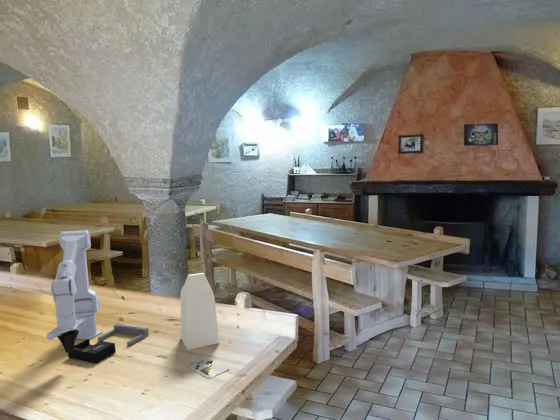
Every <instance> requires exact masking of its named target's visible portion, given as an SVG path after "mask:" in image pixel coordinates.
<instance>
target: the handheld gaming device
mask: <svg viewBox="0 0 560 420" xmlns="http://www.w3.org/2000/svg"><path fill="white" fill-rule="evenodd" d="M213 360H214V359H213V358H210V357H209V356H207V355H202V356H200V357H197V358H195V359H192V360H189V361H186V362H184V363H185V364H184V365H185V367H186V368H188V369H191V370H192V371H193V372H195V373H197V374H199V375H200V374H201V375H200V376H202V377H204V378H205V377H206V379H207V378H210V379H212V378H211V377H209V374H208V373H209V371H210V369H211V368H210V369H209V367H211V366H212V365H211V366H209V367H207V366H208V365H209V363H210V364H212V362H213ZM204 365H205V366H204ZM206 365H207V366H206ZM208 370H209V371H208ZM207 376H208V377H207Z"/></svg>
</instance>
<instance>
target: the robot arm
mask: <svg viewBox="0 0 560 420" xmlns="http://www.w3.org/2000/svg"><path fill="white" fill-rule="evenodd" d="M58 240H59V245H60V247H61V249H62V250H63V256H62V257H63V258H62V261H61V262H60V263H58V265H57V270H56V274H55V275H56V276H55V278H54V280H52V282H51V286H50V289H51V291H50V292H51V295H52V299H53V302H54V304H55V315H56V327H55V328H54V329H52V330H51V331H49V332H48V333H46V340H50V341H53V340H54V339H55V338H57V340H59V342H60V344H61V345H62V347H63V349H64V352H65V354H68V353H72V352H73V349H74V345H76V344H75V343H76V339H79V340H83V341H84V340H86V339H89V340H91V339H92V338H95V337H96V336H97V337H98V336H99V335H101V334H102V333H103V332H102V330H101V331H100V330H98V327H97V318H96V317H97V316H96V315H97V314H96V313H98V312H99V309H100V300H99V296H98V293H97V292H96V291H95V290H93V289H92V288H90V283H89V271H88V262H87V261H88V259H87V250H89V249H91V246H92V243H91V234H90V231H89V230H88V229H85V230H84V229H83V230H71V231H69V230H68V231H64V230H63V231H61V232H60V233H59V239H58Z"/></svg>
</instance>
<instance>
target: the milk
mask: <svg viewBox="0 0 560 420" xmlns="http://www.w3.org/2000/svg"><path fill="white" fill-rule="evenodd" d="M179 293H180V294H179V295H180V296H179V297H180V339H181V341H182V343H183V344H184V346H185V348H186V350H187V351H188V350H193V349H198V348H203V347H207V345H208V346H212V345H216V344H217V343H218V344H220V337H219V327H218V320H217V309H216V298H215V294H214V291H213V289H212V287H211V285H210V283H209V281H208V278H207V276H206V275H205V273H204V272H199V273H194V274H193V273H192V274H187V277H186V279H185V282H184V284H183V286H182V287H181V290H180V292H179ZM218 344H217V345H218Z"/></svg>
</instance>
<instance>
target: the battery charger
mask: <svg viewBox="0 0 560 420" xmlns="http://www.w3.org/2000/svg"><path fill="white" fill-rule="evenodd" d="M90 342H91V341H90V339H86V340H84V339H83V340H82V341H81V342H78V343H77V344H74V349H73V352H72V353H67V357H68V359H69V360H75V361H80V362H86V363H89V364H90V363H92V364H98V363H100V362H102V361H104V360H106V359H107V358H109V357H111V356H112V355H114V354H116V349H117V348H116V344H115V342H110V341H104V340H102V341H98V342H97V343H95V344H91V343H90Z"/></svg>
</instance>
